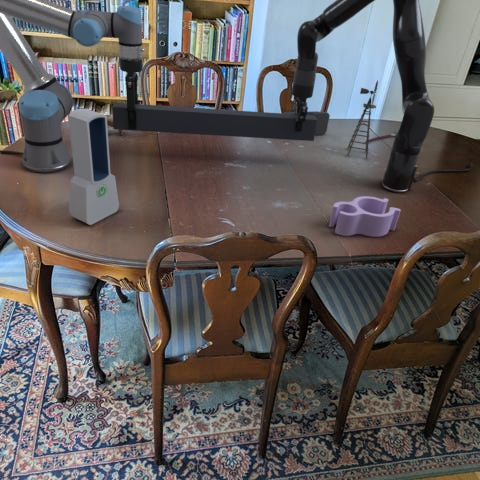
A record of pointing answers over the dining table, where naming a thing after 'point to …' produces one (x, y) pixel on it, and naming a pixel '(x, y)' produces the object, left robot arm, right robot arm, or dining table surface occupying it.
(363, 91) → the miniature windmill
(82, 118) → the electronic device
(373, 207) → the clip
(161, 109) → the post
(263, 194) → the dining table surface
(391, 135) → the sword
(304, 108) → the right robot arm
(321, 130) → the handheld gaming console
